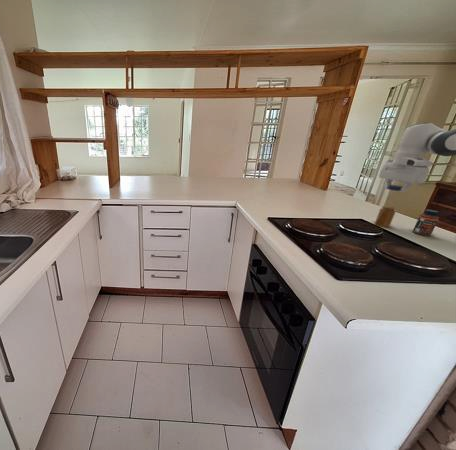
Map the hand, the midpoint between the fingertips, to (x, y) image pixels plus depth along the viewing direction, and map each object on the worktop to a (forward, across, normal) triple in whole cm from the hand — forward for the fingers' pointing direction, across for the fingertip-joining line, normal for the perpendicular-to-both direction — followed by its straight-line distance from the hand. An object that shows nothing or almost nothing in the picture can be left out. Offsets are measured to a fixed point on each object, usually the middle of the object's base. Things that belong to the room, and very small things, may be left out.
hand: (395, 190), depth 113 cm
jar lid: (-2, 0, 0) cm, 2 cm away
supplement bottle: (+18, +10, +10) cm, 23 cm away
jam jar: (+18, 0, 0) cm, 18 cm away
